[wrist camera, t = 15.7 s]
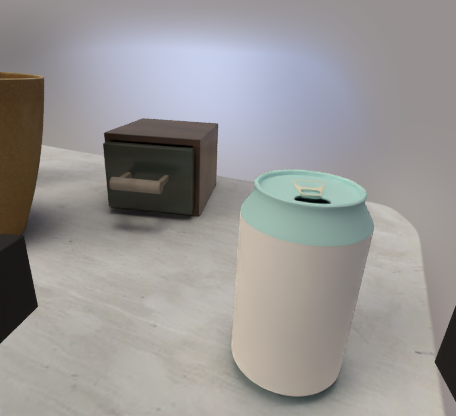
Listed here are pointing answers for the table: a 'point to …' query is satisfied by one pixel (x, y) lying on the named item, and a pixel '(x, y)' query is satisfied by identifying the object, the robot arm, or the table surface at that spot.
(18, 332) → the table surface
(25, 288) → the robot arm
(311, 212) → the can
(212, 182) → the cabinet
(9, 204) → the plant pot
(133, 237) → the table surface
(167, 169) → the drawer
